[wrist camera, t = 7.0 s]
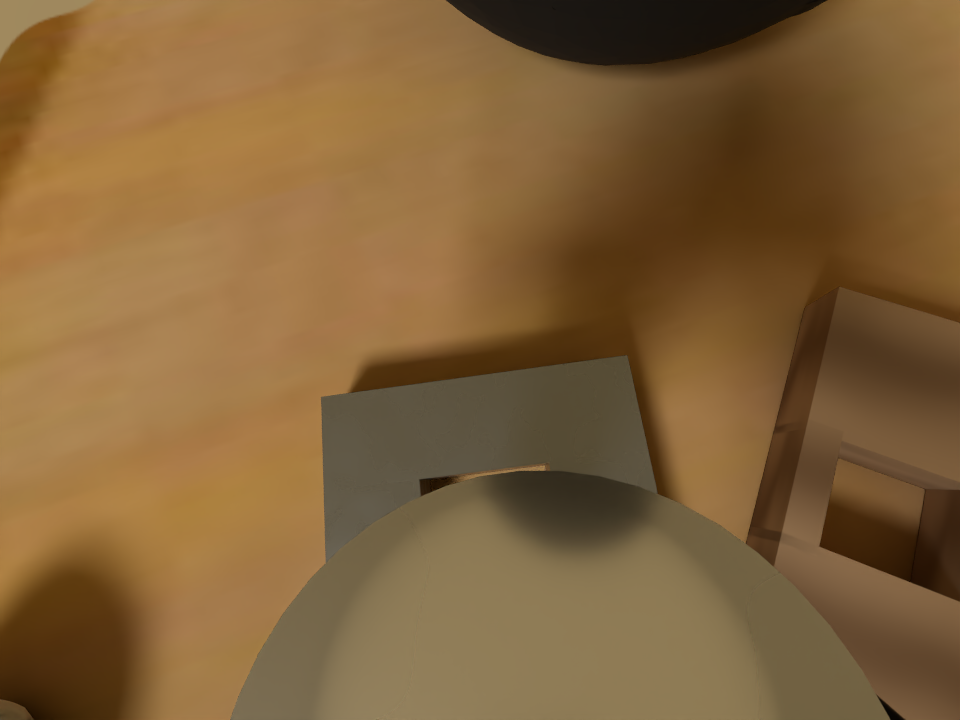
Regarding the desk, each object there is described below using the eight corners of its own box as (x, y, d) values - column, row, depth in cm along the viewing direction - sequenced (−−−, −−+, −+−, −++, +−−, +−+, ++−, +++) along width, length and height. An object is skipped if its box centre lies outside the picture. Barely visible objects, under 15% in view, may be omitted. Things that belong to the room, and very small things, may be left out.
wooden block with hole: (919, 782, 18) (983, 830, 15) (710, 686, 19) (739, 716, 16) (981, 362, 21) (1040, 346, 19) (804, 307, 23) (839, 286, 20)
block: (683, 691, 19) (707, 722, 16) (354, 727, 19) (331, 761, 17) (615, 368, 23) (627, 355, 20) (341, 405, 23) (321, 397, 21)
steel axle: (607, 565, 15) (1152, 1025, 2) (505, 641, 14) (441, 1721, 2) (535, 460, 16) (614, 357, 3) (438, 528, 15) (99, 711, 3)
